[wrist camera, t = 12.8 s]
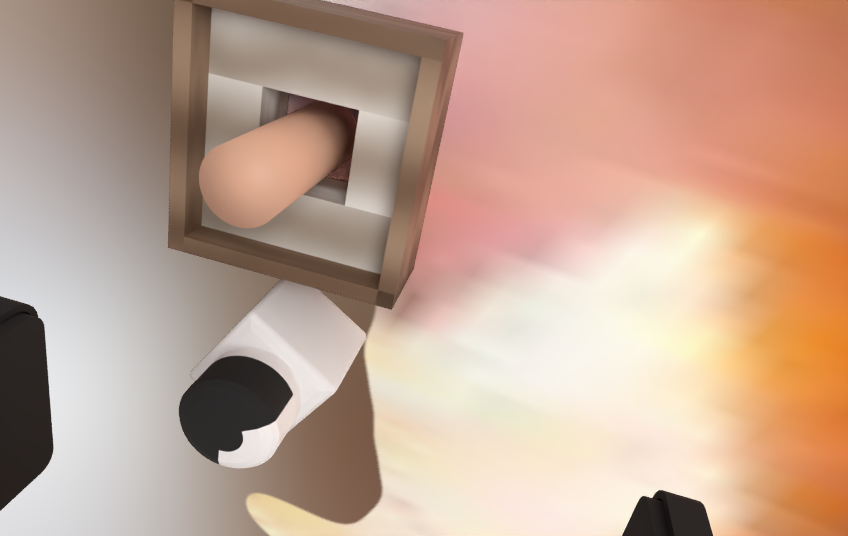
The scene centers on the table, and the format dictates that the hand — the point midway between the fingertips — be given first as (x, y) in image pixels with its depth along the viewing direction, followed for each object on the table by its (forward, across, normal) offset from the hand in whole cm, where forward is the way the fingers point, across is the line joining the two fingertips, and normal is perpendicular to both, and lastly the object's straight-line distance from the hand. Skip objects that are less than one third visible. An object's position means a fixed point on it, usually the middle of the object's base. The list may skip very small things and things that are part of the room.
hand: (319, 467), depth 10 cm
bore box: (+30, +10, +4) cm, 32 cm away
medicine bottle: (+31, +10, +18) cm, 37 cm away
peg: (+30, +10, +4) cm, 32 cm away
